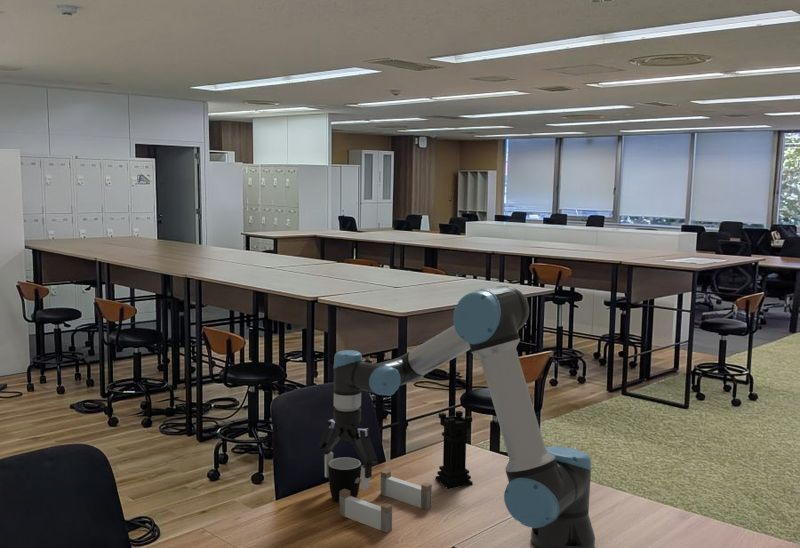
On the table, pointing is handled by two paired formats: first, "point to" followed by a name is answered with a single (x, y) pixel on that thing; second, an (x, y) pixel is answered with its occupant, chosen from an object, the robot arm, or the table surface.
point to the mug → (344, 476)
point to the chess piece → (454, 451)
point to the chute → (383, 514)
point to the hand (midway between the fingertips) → (346, 482)
